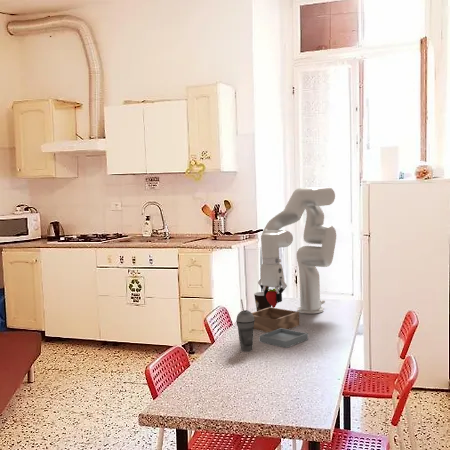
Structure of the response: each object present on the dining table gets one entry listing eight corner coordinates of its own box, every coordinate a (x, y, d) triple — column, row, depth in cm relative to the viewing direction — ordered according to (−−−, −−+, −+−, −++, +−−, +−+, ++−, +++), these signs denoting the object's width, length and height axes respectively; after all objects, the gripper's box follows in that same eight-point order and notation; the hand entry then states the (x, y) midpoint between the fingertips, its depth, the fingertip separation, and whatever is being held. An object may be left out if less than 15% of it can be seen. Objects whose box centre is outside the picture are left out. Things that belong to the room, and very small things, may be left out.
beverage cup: (254, 352, 227) (252, 301, 225) (235, 352, 228) (233, 301, 226) (257, 347, 234) (255, 297, 232) (239, 346, 235) (236, 297, 233)
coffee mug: (273, 315, 282) (272, 295, 281) (255, 316, 282) (254, 295, 281) (272, 310, 293) (271, 290, 292) (254, 310, 293) (253, 290, 292)
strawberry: (264, 309, 260) (263, 287, 259) (269, 305, 267) (268, 283, 266) (277, 310, 258) (276, 287, 257) (282, 305, 265) (281, 283, 264)
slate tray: (281, 333, 251) (280, 328, 251) (308, 339, 241) (307, 333, 241) (259, 341, 241) (259, 335, 241) (286, 347, 231) (286, 341, 231)
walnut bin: (270, 319, 275) (270, 307, 274) (299, 325, 263) (299, 311, 262) (246, 327, 263) (246, 314, 262) (275, 333, 251) (275, 319, 251)
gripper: (291, 261, 257) (294, 301, 259) (261, 258, 269) (263, 296, 271) (281, 264, 252) (283, 305, 254) (250, 260, 264) (252, 300, 266)
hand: (273, 300), depth 262 cm, fingers closed on strawberry, 6 cm apart
